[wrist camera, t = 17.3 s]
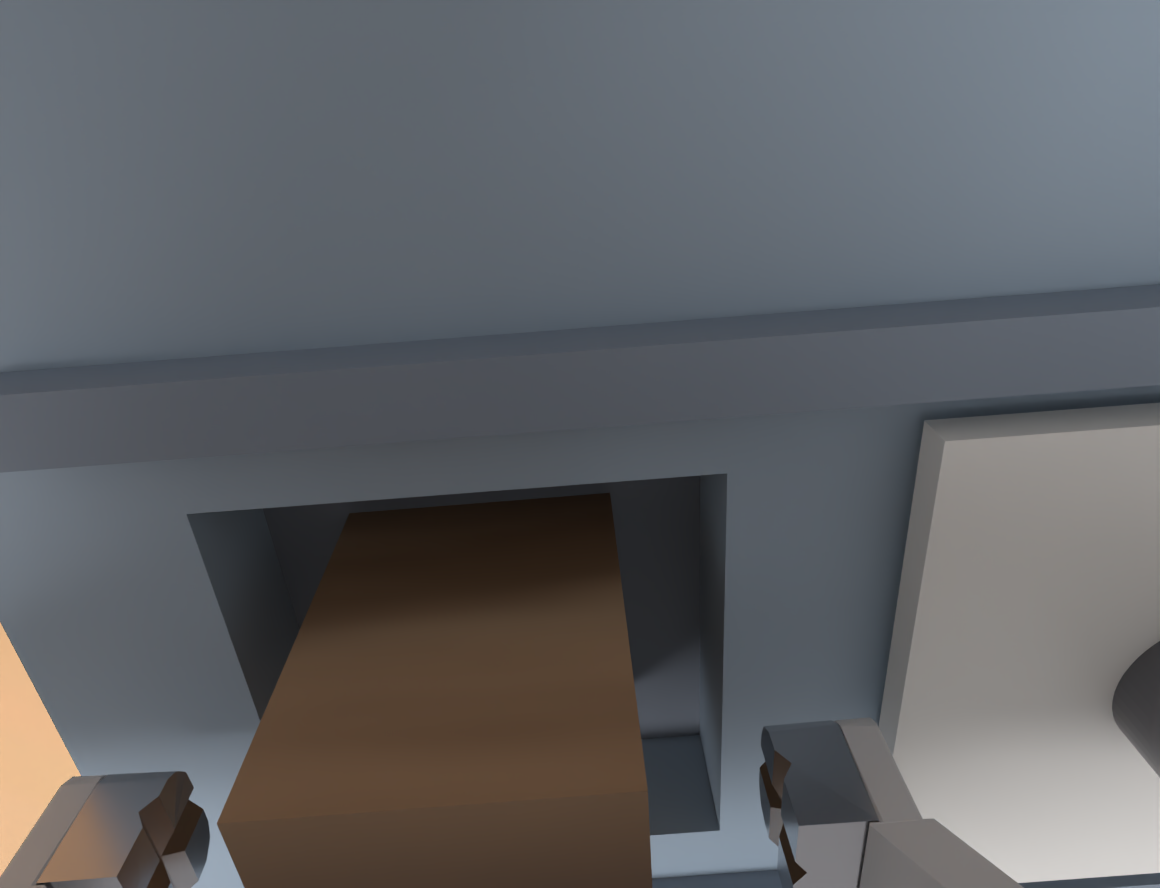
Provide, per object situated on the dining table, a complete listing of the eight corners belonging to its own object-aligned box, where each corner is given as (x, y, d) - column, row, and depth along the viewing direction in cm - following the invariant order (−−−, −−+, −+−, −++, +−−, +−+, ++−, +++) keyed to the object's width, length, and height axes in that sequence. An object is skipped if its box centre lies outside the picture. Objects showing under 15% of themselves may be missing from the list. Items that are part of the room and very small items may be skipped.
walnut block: (349, 513, 13) (216, 823, 8) (610, 492, 13) (648, 790, 8) (396, 704, 16) (315, 1051, 10) (622, 686, 16) (659, 1025, 10)
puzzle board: (-127, 23, 10) (-402, 17, 7) (1568, -109, 10) (1986, -171, 7) (265, 937, 19) (213, 1097, 16) (1152, 872, 19) (1258, 1021, 16)
